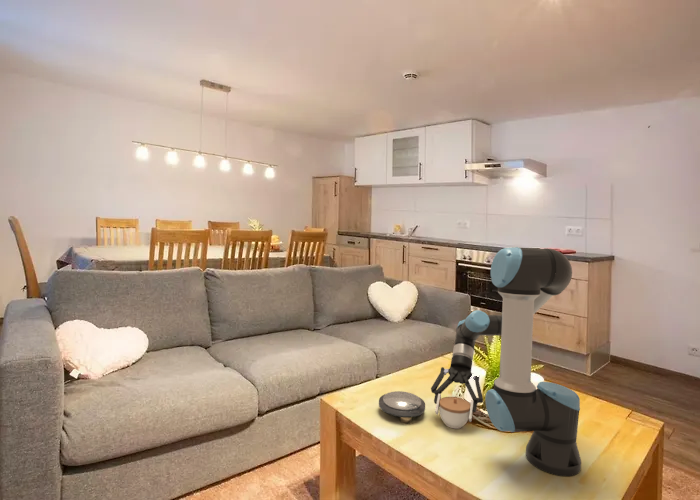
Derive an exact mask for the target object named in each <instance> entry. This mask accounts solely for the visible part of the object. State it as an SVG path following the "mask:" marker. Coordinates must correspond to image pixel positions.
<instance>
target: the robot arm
mask: <svg viewBox="0 0 700 500" xmlns="http://www.w3.org/2000/svg"><path fill="white" fill-rule="evenodd" d="M572 277H573V267H572V264H571V263H570V260H569V259H568V258H567V256H566V255H564V254H563V252H561V251H558V250H557V249H553V248H538V247H536V248H535V247H518V246H516V247H504V248H502V249H500V250H499V251H498V252H496V254H495V255H494V257H493V259H492V262H491V267H490V278H491V280H490V281H491V283H492V284H493V285H494V286H495V287H496V288H497V293H498V295H500V296H501V297H502V309H501V310H502V311H501V314H495V315H494V314H487V312H484V311H482V310H480V309H475V310H473V311H472V312H471V313H470V314H469V315H468V314H467V317H465V319H462V320H460V321H459V322H458V323H457V326H456V333H455V337H454V344H453V349H452V355H451V356H452V357H451V361H450V367H449V368H445V367H443V366H442V367H440V373H439V374H438V376H437V378H436V379H435V380H434V382H433V384H432V386H431V387H430V390H431V393H432V394H434V397H433V398H434V399H433V403H434V405H435V409H434V410H435V411H434V412H435V415H436V416H437V415H439V413H440V411H439V401H440V399H442V395H441V394H442V393H443V392H444V391H445V390H446V389H447V388H448V387H449V386H450V385H451V384H453V383H457V384H458V383H459V384H462V385H463V384H464V386H465V387H466V389H467V391H468V393H469V396H470V397H471V399H472V400H470V405H471V406H470V414H469V419H468V422H469V423H472V419H473V413H476V412H477V408H478V404H479V403H481V404H482V403H485V408H486V411H487V415H488V417H489V421H490V422H491V424H492V425H493V426H494V428H495V429H497V430H498V431H501V432H510V433H515V432H532V434H531V436H530V438H529V440H528V442H527V444H526V447H525V458H526V459H527V461H529V463H530V464H531V465H532V466H534V467H535V468H537V469H539V470H541V471H543V472H544V473H548V474H552V475H554V474H555V476H560V477H572V476H576V475H578V474H579V473H580V472H581V470H580V469H581V468H582V460H581V456H580V452H579V447H578V445H577V444H578V443H577V439H578V438H577V437H578V427H579V416H580V411H581V407H580V405H581V404H580V403H581V400H580V397H579V395H578V393H577V392H575V391H574V390H572V389H571V388H569V387H567V386H564V385H562V384H558V383H556V382H552V381H551V382H550V381H540V382H538V383H537V385H536V386H535V384H533V382H532V381H531V379H532V378H531V376H532V357H533V355H532V354H533V335H534V334H533V332H534V331H533V330H534V316H535V315H534V314H536V313H537V312H538V311H539V310H540V309H541V308H542V307H543V306H545V304H546V303H547V302H548V301H549V300H550V299H551V298H552V297H553V296H558V295H560V294H561V293H563V292H564V291H565V290H566V289H567V287H568V286H569V285H570V283H571V281H572ZM480 336H484V337H485V336H497V337H501V338H500V340H501V341H500V358H499V359H500V362H499V376H498V377H497V378H496V379H495V380H494V382H493V388H491V389H488V390H487V391H486V393H485V397H484V398H483V394H482V389H481V385H480V376H479V377H477V376H474V377H473V378H472V377H471V376H472V374H473V373H472V367H473V361H474V354H475V353H474V352H475V344H476V340H478V339H479V337H480ZM447 374H448V375H449V376H448V377H447V378H446V380H444V382H442V381H443V379H444V377H445V376H446V375H447ZM470 377H471V378H472V379H474V380H475V381H474V380H473V381H474V382H475V388H476V393H477V395H476V393H475V391H474V390H473V387H472V385H471V383H470V381H469V380H470V379H471V378H470ZM441 383H442V384H441ZM440 384H441V385H440ZM439 385H440V386H439ZM484 400H485V401H484Z"/></svg>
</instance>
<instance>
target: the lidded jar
mask: <svg viewBox="0 0 700 500" xmlns="http://www.w3.org/2000/svg"><path fill="white" fill-rule="evenodd" d="M470 406H471V402H469V401H468V400H465V399H464V398H461V397H458V396H457V397H456V396H445V397H441V399H440V401H439V416H440V419H441V421H442V422H443V424H445V426H446V427H448V428H451V429H455V430H456V429H457V430H458V429H459V430H460V429H461V428H463V426H465V425H466V424H467V423H468V422H469V414H470Z"/></svg>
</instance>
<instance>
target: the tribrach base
mask: <svg viewBox="0 0 700 500" xmlns="http://www.w3.org/2000/svg"><path fill="white" fill-rule="evenodd" d="M378 407H379V409H380V410H381V411H382V412H384V413H385V414H388V415H390V416H393V417H394V416H395V417H399V421H400V422H401V423H403V424H411V423H412V418H414V417H419V416H421V415H422V414H423V413H424V412H425V411H426V402H425V400H424V399H423V398H421V397H420V396H418V395H417V394H415V393H412V392H407V391H403V390H401V391H399V390H398V391H390V392H387V393H384V394H382V395H381V396H380V397H379V399H378Z"/></svg>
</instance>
